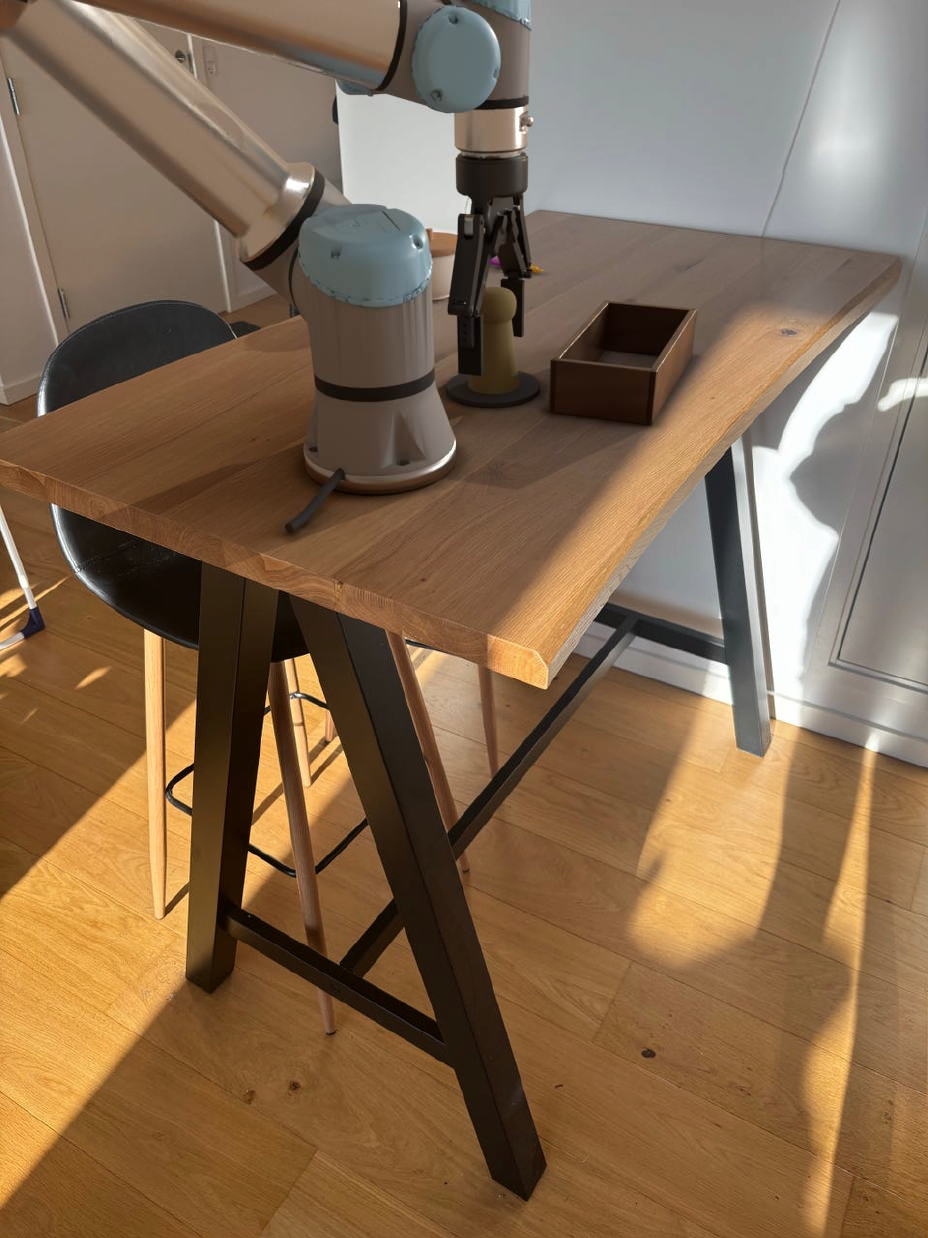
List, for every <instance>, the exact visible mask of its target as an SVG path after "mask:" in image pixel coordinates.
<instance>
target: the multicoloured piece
mask: <svg viewBox="0 0 928 1238" xmlns="http://www.w3.org/2000/svg"><path fill="white" fill-rule="evenodd" d="M491 265H492V266H496V267H501V265H500V263H499V260H498V258H495V257H494V258H493V259H492V261H491ZM491 265H490V266H491ZM526 269H527V268H526ZM530 269H532V270H533V273H535V274H537V273H538V272H542V273H543V272H544V269H540V267H539V266H535V265H531V267H530Z"/></svg>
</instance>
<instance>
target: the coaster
mask: <svg viewBox="0 0 928 1238" xmlns="http://www.w3.org/2000/svg"><path fill="white" fill-rule="evenodd" d="M518 376H519V387H518V388H517V389H515V390H513V391H511V392H507V393H502V394H484V393H479V392H475V391H473V390H471V389H470V388H469V387H468V381H469V375H466V374H458V373H457V374H456V375H454V376H453V377H451V378H450V379H448V380H447V382H446V385H445V392H446V394H447V396H448V397H449V398H450V399H451V400H453V401H455V402H457V403H460V404H462V405H466V406H471V407H477V408H506V407H508V408H509V407H513V406H514V407H515V406H519V405H521V404H525V403H527V402H530V401H532V400H533V399H535V398H536V397H537V396H538V395H539V394H540V391H541V383H540V381H539V380H538V378H537V377H536V376H534V375H532V374H530V373H527V372H524V371H521V370H518Z"/></svg>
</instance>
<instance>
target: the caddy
mask: <svg viewBox="0 0 928 1238" xmlns="http://www.w3.org/2000/svg"><path fill="white" fill-rule="evenodd" d="M697 313H698V309H697V308H693V307H683V306H672V305H661V304H652V303H651V304H650V303H640V302H627V301H616V300H606V299H604V300H603V301H602V303H601V304H600V305H599V306H598V307H596V309H595V310H594V311H593V313H592V314H591V315H590V316H589V317H588V318H587V319H586V320H585V321H584V322H583V323H582V324H581V326H579V328H578V329H577V330H576V331H575V332H574V333H573V334H572V335H571V337H570V338H569V339H568V340H567V341H566V342H565V343H564V344H563V346H561V348H559V350H558V351H557V352H556V353H555V354H554V355H553V356H552V358H551V359H550V365H549V367H550V368H549V396H548V397H549V398H548V401H549V402H548V412H549V413H557V414H564V415H572V416H578V417H586V418H587V417H588V418H595V419H601V420H608V421H609V420H611V421H618V422H624V423H625V422H626V423H631V424H632V423H633V424H641V425H647V426H652V425H653V424H654V422H655V421H656V419H657V417H658V415H659V413H660V412H661V410H662V409H663V407H664V404H665V403H666V401H667V400H668V398H669V396H670V394H671V393H672V391H673V389H674V387H675V386H676V384H677V382H678V381H679V380H680V377H681V376H682V374H683V372H684V370H685V369H686V367H687V365H688V364H689V362H690V360H691V359H692V356H693V349H694V340H695V332H696V331H695V330H696V323H697V322H696V321H697ZM606 350H609V351H617V352H618V351H619V352H625V353H626V352H627V353H636V354H637V353H638V354H645V355H655V356H658V357H657V359H656V360H655V362H654V363H653V365H652V367H650V368H649V367H640V366H631V365H624V364H614V363H606V362H598V360H599V359H600V358H601V356H602V355H603V354H604V353H605V352H606Z"/></svg>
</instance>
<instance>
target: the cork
mask: <svg viewBox="0 0 928 1238" xmlns="http://www.w3.org/2000/svg"><path fill="white" fill-rule="evenodd" d="M515 312H516V297H515V295H514V294H513V292H512V291H510V290H509V289H506V288H503V287H500V286H485V291H484V295H483V299H482V304H481V308H480V312H479V314H482V315H483V352H484V374H483V375H482V376H474V375H469V381H468V387H469V388H470V389H471V390H473V391H475V392H479V393H484V394H502V393H507V392H511V391H513V390H515V389H517V388H518V387H519V376H518V371H519V369H518V360H517V352H516V345H515V337H514V336H513V328H512V320H511V319H512V318H513V316H514V315H515Z"/></svg>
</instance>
